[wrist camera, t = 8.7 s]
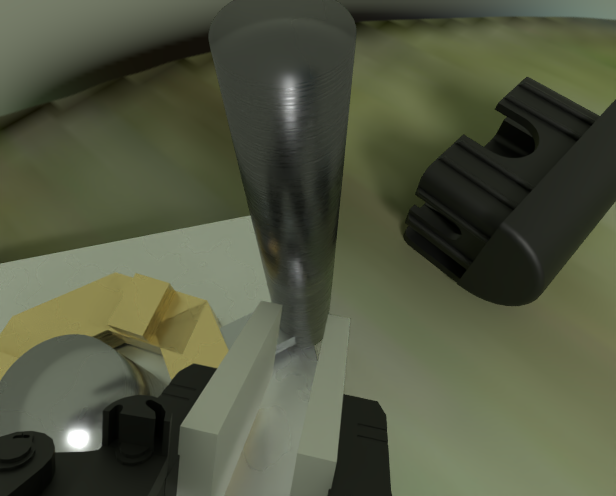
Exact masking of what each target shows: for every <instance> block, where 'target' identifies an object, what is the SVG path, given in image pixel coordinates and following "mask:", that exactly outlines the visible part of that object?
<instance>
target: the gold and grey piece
mask: <svg viewBox="0 0 616 496" xmlns="http://www.w3.org/2000/svg"><path fill="white" fill-rule="evenodd" d="M355 43H356V25H355V22H354V19H353V18H352V16H351V14H350V13H349V11H348V10H347V9H346V8H345V7H344V6H343V5H342V4H341V3H339V2H338V1H336V0H233V1H232V2H230V3H229V4H227V5H226V6H225V7H224V8H223V9H222V10H221V11H219V13H218V14H217V15H216V16H215V18H214V19H213V21H212V23H211V26H210V29H209V44H210V48H211V52H212V57H213V61H214V65H215V69H216V73H217V78H218V82H219V86H220V90H221V94H222V98H223V103H224V107H225V111H226V115H227V119H228V123H229V128H230V132H231V136H232V140H233V144H234V148H235V153H236V157H237V161H238V165H239V169H240V173H241V178H242V182H243V186H244V190H245V194H246V199H247V203H248V207H249V211H250V215H251V219H252V224H253V228H254V232H255V236H256V240H257V244H258V249H259V253H260V257H261V261H262V265H263V269H264V274H265V278H266V282H267V286H268V290H269V294H270V299H271V303H276V304H281V305H283V306H282V313H281V320H280V326H279V333H278V340H277V347H276V354H277V353H279V352H281V351H283V350H285V349H287V348H289V347H291V346H293V347H296V348H309V347H312V346H315V345H316V344H318V343H319V342H320V341H321V340H322V339H323V336H324V331H325V327H326V322H327V318H328V314H329V309H330V299H331V289H332V279H333V268H334V258H335V248H336V238H337V227H338V217H339V207H340V197H341V186H342V176H343V166H344V156H345V145H346V135H347V125H348V115H349V104H350V94H351V84H352V74H353V63H354V53H355ZM252 314H253V312H252V313H250V314H248V315H246V316H244V317H242V318H240V319H237V320H235V321H233V322H231V323H229V324H227V325H225V326H223V327H221V325H220V323H219V321H218V319H217V316H216V314H215V313H214V311H213V309H212V308H211V306H210V304H209V303H208V301H207V300H204V299H200V298H197V297H194V296H191V295H188V294H184V293H181V292H178V291H175V290H174V289H173V287H172V286H171V284H170V283H167V282H164V281H161V280H158V279H154V278H151V277H148V276H145V275H141V274H138V273H135V275H134V277H133V278H132V277H129V276H126V275H123V274H120V273H116V272H115V273H113V274H110V275H108V276H106V277H103V278H101V279H99V280H96V281H94V282H92V283H89V284H87V285H85V286H82V287H80V288H77V289H75V290H73V291H70V292H68V293H66V294H63V295H61V296H59V297H56V298H54V299H52V300H49V301H47V302H45V303H42V304H40V305H38V306H35V307H33V308H31V309H28V310H26V311H24V312H21V313H19V314H17V315H14V316H12V317H11V319H10V320H9V322H8V323H7V325H6V326H5V328H4V329H3V331H2V332H1V334H0V380H1V379H2V377H3V376H4V374H5V373H6V372H7V370H8V369H9V368H10V367H11V366H12V364H13V363H14V362H15V361H16V360H17V359H18V358H20V357H21V356H22V355H23V354H24V353H26V352H27V351H28V350H30V349H31V348H33V347H34V346H36V345H38V344H40V343H42V342H44V341H46V340H48V339H51V338H54V337H58V336H62V335H69V334H80V335H87V336H91V337H94V338H96V339H99V340H101V341H102V342H104V343H105V344H107V345H109V346H110V347H112V348H115V347H117V346H120V345H122V344H124V343H128V344H131V345H133V346H136V347H139V348H142V349H145V350H148V351H151V352H154V353H157V354H160V355H163V358H164V361H165V364H166V367H167V369H168V372H169V375H170V378H171V380H172V379H173V378H174V377H175V375H176V374H177V373H178V372H179V371H180V370H182V369H184V368H186V367H188V366H189V365H191V364H193V363H195V364H199V365H204V366H209V367H213V368H218V367H219V365H220V364H221V362H222V360H223V359H224V357H225V356H226V354H227V353H228V351H229V350H230V348H231V347H232V345H233V343H234V342H235V340H236V339H237V337H238V336H239V334H240V333H241V331H242V329H243V328H244V326H245V325H246V323H247V322H248V320H249V319H250V317H251V316H252Z"/></svg>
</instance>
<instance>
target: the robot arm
mask: <svg viewBox="0 0 616 496" xmlns="http://www.w3.org/2000/svg"><path fill="white" fill-rule="evenodd" d="M282 306H283V305H281V304H276V303H270V302H265V301H261V302H260V303H259V305H258V306H257V308H256V309H255V311H254V312H253V314H252V316H251V317H250V319H249V320H248V322H247V323H246V325H245V326H244V328H243V329H242V331H241V333H240V334H239V336H238V337H237V339H236V340H235V342H234V343H233V345H232V347H231V348H230V350H229V351H228V353H227V354H226V356H225V357H224V359H223V360H222V362H221V364H220V365H219V367H218V368H213V367H209V366H204V365H199V364H195V363H193V364H191V365H189V366H188V367H186V368H184V369H182V370H180V371H179V372H178V373H177V374H176V375H175V377H174V378H173V379H172V380H171V382H170V383H169V386H168V385H167V387H166V388H165V389H164V390H163V392H162V394H161V395H159V397H158V398H157V397H154V396H151V395H134V396H129V397H124V398H121V399H119V400H117V401H115V402H112V403H111V404H110V405H109V406H107V407H106V408H105V409H104V410H103V420H102V446H101V448H100V449H98V450H93V451H84V452H55V445H54V442H53V439H52V438H50V437H49V436H48V435H46V434H45V433H41V432H36V431H21V432H15V433H11V434H8V435H4V436H1V437H0V496H224V495H225V492H226V490H227V487H228V485H229V482H230V480H231V477H232V475H233V472H234V470H235V467H236V465H237V462H238V460H239V457H240V455H241V452H242V450H243V447H244V445H245V442H246V440H247V437H248V435H249V432H250V430H251V427H252V425H253V422H254V420H255V417H256V415H257V412H258V410H259V407H260V405H261V402H262V399H263V397H264V394H265V392H266V389H267V387H268V384H269V382H270V379H271V377H272V374H273V367H274V360H275V354H276V347H277V340H278V333H279V326H280V320H281V313H282ZM350 320H351V318H346V317H341V316H336V315H331V314H328V318H327V322H326V327H325V331H324V336H323V340H322V345H321V349H320V354H319V358H318V363H317V367H316V372H315V376H314V380H313V385H312V389H311V394H310V398H309V403H308V407H307V412H306V416H305V421H304V425H303V430H302V434H301V438H300V443H299V447H298V452H297V457H296V463H295V469H294V474H293V480H292V486H291V491H290V496H392V493H391V483H390V468H389V452H388V445H387V444H388V436H387V421H386V414H385V413H384V411H383V409H382V408H381V406H380V405H379V403H378V402H377V401H373V400H368V399H363V398H359V397H354V396H350V395H345V394H343V392H344V381H345V371H346V361H347V350H348V340H349V330H350Z"/></svg>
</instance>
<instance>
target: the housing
mask: <svg viewBox="0 0 616 496" xmlns="http://www.w3.org/2000/svg"><path fill="white" fill-rule="evenodd" d="M115 272H116V273H120V274H123V275H126V276H129V277H132V278H133V277H134V275H135V273H138V274H141V275H145V276H148V277H151V278H154V279H158V280H161V281H164V282H167V283H170V284H171V286H172V287H173V289H174V290H175V291H178V292H181V293H184V294H188V295H191V296H194V297H197V298H200V299H204V300H207V301H208V303H209V304H210V306H211V308H212V309H213V311H214V313H215V314H216V316H217V319H218V321H219V323H220V325H221V327H223V326H225V325H227V324H229V323H231V322H233V321H235V320H237V319H240V318H242V317H244V316H246V315H248V314H250V313H252V312H254V311H255V309H256V308H257V306H258V305H259V303H260V302H261V301H265V302H270V303H271V299H270V294H269V290H268V286H267V282H266V278H265V274H264V269H263V265H262V261H261V257H260V253H259V249H258V244H257V240H256V236H255V232H254V228H253V224H252V219H251V215H250V216H245V217H240V218H234V219H229V220H224V221H219V222H214V223H208V224H203V225H198V226H193V227H188V228H183V229H177V230H172V231H167V232H162V233H157V234H151V235H146V236H141V237H136V238H131V239H126V240H120V241H115V242H110V243H105V244H100V245H94V246H89V247H84V248H79V249H74V250H69V251H63V252H58V253H53V254H48V255H43V256H37V257H32V258H27V259H22V260H17V261H12V262H6V263H1V264H0V334H1V332H2V331H3V329H4V328H5V326H6V325H7V323H8V322H9V320H10V319H11V317H12V316H14V315H17V314H19V313H21V312H24V311H26V310H28V309H31V308H33V307H35V306H38V305H40V304H42V303H45V302H47V301H49V300H52V299H54V298H56V297H59V296H61V295H63V294H66V293H68V292H70V291H73V290H75V289H77V288H80V287H82V286H85V285H87V284H89V283H92V282H94V281H96V280H99V279H101V278H103V277H106V276H108V275H110V274H113V273H115ZM317 363H318V362H317V357H316V353H315V349H314V346H312V347H309V348H296V347H293V346H291V347H289V348H287V349H285V350H283V351H281V352H279V353H277V354H275V360H274V367H273V374H272V377H271V379H270V382H269V384H268V387H267V389H266V392H265V394H264V397H263V399H262V402H261V405H260V407H259V410H258V412H257V415H256V417H255V420H254V422H253V425H252V427H251V430H250V432H249V435H248V437H247V440H246V442H245V445H244V447H243V450H242V452H241V455H240V457H239V460H238V462H237V465H236V467H235V470H234V472H233V475H232V477H231V480H230V482H229V485H228V487H227V490H226V492H225V495H224V496H290V491H291V486H292V480H293V474H294V469H295V463H296V457H297V452H298V447H299V443H300V438H301V434H302V430H303V425H304V421H305V416H306V412H307V407H308V403H309V398H310V394H311V389H312V385H313V380H314V376H315V372H316V367H317ZM170 382H171V378H170V375H169V372H168V369H167V367H166V364H165V361H164V358H163V355H160V354H157V353H154V352H151V351H148V350H145V349H142V348H139V347H136V346H133V345H131V344H128V343H124V344H122V345H120V346H117V347H115V348H112V347H110V346H109V345H107V344H105V343H104V342H102V341H101V340H99V339H96V338H94V337H91V336H87V335H80V334H69V335H62V336H58V337H54V338H51V339H48V340H46V341H44V342H42V343H40V344H38V345H36V346H34V347H33V348H31V349H30V350H28V351H27V352H26V353H24V354H23V355H22V356H21V357H20V358H18V359H17V360H16V361H15V362H14V363H13V364H12V366H11V367H10V368H9V369H8V370H7V372H6V373H5V374H4V376H3V377H2V379H1V380H0V437H1V436H4V435H8V434H11V433H15V432H21V431H36V432H41V433H45V434H46V435H48V436H49V437H50V438H52V439H53V442H54V445H55V452H84V451H93V450H98V449H100V448H101V446H102V420H103V410H104V409H105V408H106V407H107V406H109V405H110V404H111V403H112V402H115V401H117V400H119V399H121V398H124V397H129V396H134V395H151V396H154V397H157V398H158V397H159V395H161V394H162V392H163V390H164V389H165V388H166V387H167V385H168V386H169V383H170Z"/></svg>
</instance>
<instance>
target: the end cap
mask: <svg viewBox="0 0 616 496" xmlns="http://www.w3.org/2000/svg"><path fill="white" fill-rule="evenodd" d="M495 110H497V111H498V112H500V113H502V114H503V115H505V116H507V118H506V119H504V121H503V123H502V124H501V126H500V128H499V130H498V132H497V134H496V135H495V137H494V138H493V139H492V140H491V141H490V142H489V143H488V144H487V145H486V146H485V147H483V146H481V145H480V144H478V143H476V142H475V141H473V140H472V139H470V138H469V137H467V136H465V135H463V136H461V137H460V138H459V139H458V140H457V141H456V142H455V143H454V144H453V145H452V146H451V147H449V148H448V149H447V150H446V151H445V152H444V153H443V154H442V155H441V156H440V157H439V158H437V159H436V160H435V161H434V162H433V163H432V164H431V165H430V166H429V167H428V168H427V170H426V171H425V173H424V174H423V176H422V178H421V180H420V182H419V185H418V188H417V191H416V193H415V195H417V196H418V197H419V198H421V199H422V200H423V201H425V202H426V203H425V204H424V205H423V206H422V207H421V208H419V207H417V206H416V205H414V206H413V207H412V208H411V209H410V210H409V213H408V216H407V218H406V221H405V223H406V224H407V225H409V226H408V227H407V229H406V231H405V233H404V240H405V241H406V243H407V244H408V245H409V246H411V247H412V248H413V249H414V250H416V251H417V252H418V253H420V254H421V255H422V256H423V257H425V258H426V259H427V260H428V261H430V262H431V263H432V264H434V265H435V266H436V267H437V268H439V269H440V270H441V271H442V272H444V273H445V274H446V275H448V276H449V277H450V278H451V279H453V280H454V281H455V282H457V284H458V285H459V286H461V287H462V288H464V289H465V290H467V291H468V292H470V293H472V294H473V295H475V296H477V297H479V298H482V299H484V300H486V301H489V302H492V303H495V304H499V305H505V306H521V305H526V304H529V303H531V302H533V301H535V300H536V299H537V298H538V297H539V296H540V295H541V294H542V293H543V292H544V290H545V289H546V288H547V286H548V285H549V284H550V283H551V281H552V280H553V279H554V278H555V276H556V275H557V274H558V273H559V271H560V270H561V269H562V268H563V266H564V265H565V264H566V263H567V261H568V260H569V259H570V258H571V256H572V255H573V254H574V253H575V251H576V250H577V249H578V248H579V246H580V245H581V244H582V243H583V241H584V240H585V239H586V238H587V236H588V235H589V234H590V233H591V231H592V230H593V229H594V228H595V226H596V225H597V224H598V223H599V221H600V220H601V219H602V218H603V216H604V215H605V214H606V213H607V211H608V210H609V209H610V208H611V206H612V205H613V204H614V203H615V201H616V100H615V101H614V102H613V103H612V104H611V105H610V106H609V107H608V108H607V109H606V110H605V112H604V113H603V114H602V115H601V116H599V115H597V114H595V113H593V112H591V111H590V110H588V109H586V108H584V107H582V106H580V105H579V104H577V103H575V102H573V101H571V100H569V99H568V98H566V97H564V96H562V95H560V94H558V93H557V92H555V91H553V90H551V89H549V88H547V87H546V86H544V85H542V84H540V83H538V82H536V81H535V80H533V79H531V78H529V77H526V78H525V79H524V80H523V81H521V82H520V83H519V84H518V85H517V86H516V87H515V88H514V89H513V90H512V91H511V92H509V93H508V94H507V95H506V96H505V97H504V98H503V99H502V100H501V101H500V102H499V103H498V104H497V106H496V108H495Z"/></svg>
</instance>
